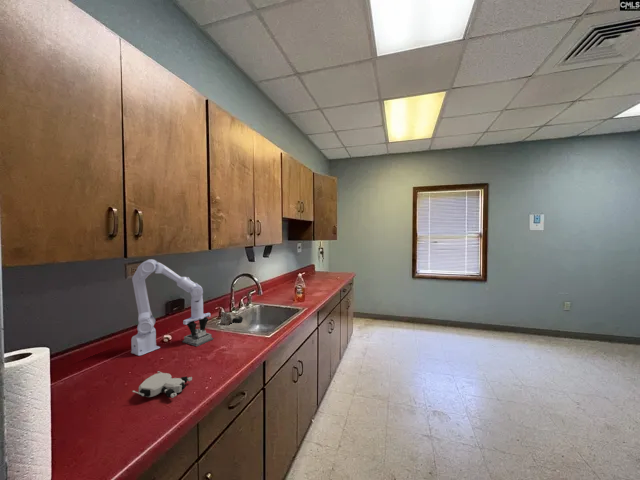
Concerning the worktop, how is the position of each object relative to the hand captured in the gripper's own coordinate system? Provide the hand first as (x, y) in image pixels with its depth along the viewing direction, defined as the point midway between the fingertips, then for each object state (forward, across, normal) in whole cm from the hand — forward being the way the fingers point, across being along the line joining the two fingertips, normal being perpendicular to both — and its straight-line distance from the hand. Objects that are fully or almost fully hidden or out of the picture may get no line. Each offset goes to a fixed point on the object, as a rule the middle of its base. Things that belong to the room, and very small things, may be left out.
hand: (197, 333), depth 133 cm
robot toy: (+4, -34, -30) cm, 45 cm away
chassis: (+4, 0, 0) cm, 4 cm away
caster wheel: (+4, +28, +5) cm, 29 cm away
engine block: (+3, 0, 0) cm, 3 cm away
